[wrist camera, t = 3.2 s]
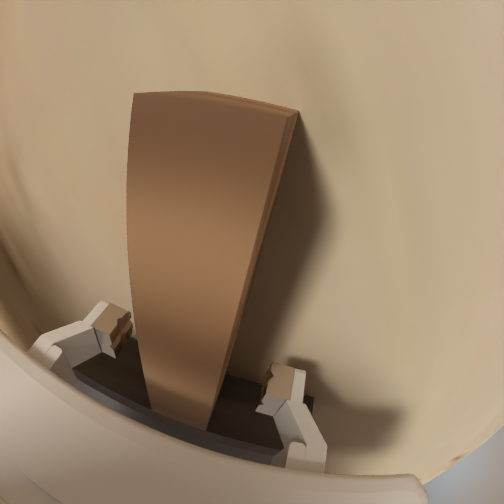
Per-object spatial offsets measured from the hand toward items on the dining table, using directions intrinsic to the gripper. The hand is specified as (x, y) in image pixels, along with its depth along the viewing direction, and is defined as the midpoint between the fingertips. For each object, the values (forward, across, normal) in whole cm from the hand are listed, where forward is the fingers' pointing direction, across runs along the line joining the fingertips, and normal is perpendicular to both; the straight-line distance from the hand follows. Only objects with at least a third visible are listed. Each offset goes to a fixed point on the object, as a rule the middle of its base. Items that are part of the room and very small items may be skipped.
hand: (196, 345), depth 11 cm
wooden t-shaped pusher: (+2, 0, -3) cm, 3 cm away
